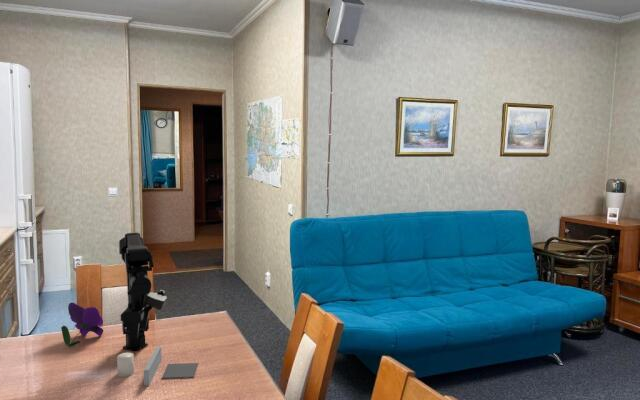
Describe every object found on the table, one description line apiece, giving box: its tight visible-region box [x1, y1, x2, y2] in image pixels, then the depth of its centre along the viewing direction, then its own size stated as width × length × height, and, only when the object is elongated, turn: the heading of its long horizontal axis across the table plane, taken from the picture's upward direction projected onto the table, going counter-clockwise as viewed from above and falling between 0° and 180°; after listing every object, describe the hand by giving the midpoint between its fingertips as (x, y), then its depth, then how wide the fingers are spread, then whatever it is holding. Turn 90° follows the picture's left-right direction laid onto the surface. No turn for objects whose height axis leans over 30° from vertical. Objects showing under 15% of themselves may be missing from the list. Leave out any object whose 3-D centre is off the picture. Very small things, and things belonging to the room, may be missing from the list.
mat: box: [161, 362, 199, 380], centre depth 164 cm, size 10×10×1 cm
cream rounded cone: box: [116, 352, 135, 378], centre depth 162 cm, size 5×5×6 cm
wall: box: [143, 346, 162, 386], centre depth 163 cm, size 18×2×5 cm, turn 6°
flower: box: [61, 302, 104, 348], centre depth 186 cm, size 15×15×14 cm
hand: (140, 332), depth 163 cm, fingers open, 9 cm apart
